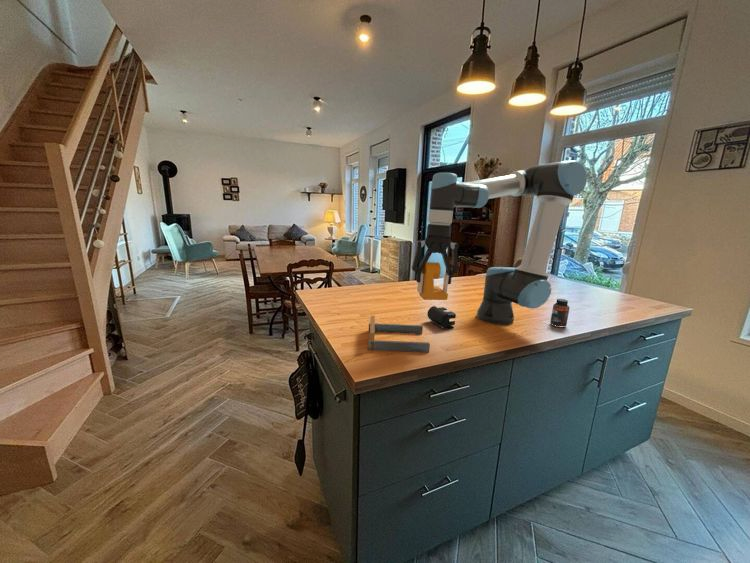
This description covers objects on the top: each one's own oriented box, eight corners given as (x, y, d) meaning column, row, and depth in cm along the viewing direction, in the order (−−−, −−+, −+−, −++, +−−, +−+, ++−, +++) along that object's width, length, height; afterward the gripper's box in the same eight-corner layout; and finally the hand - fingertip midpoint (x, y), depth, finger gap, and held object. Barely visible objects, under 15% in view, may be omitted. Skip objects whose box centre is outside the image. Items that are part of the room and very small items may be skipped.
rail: (421, 332, 114) (422, 317, 112) (429, 352, 98) (430, 335, 97) (368, 330, 113) (369, 315, 112) (367, 349, 98) (368, 332, 96)
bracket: (447, 302, 98) (452, 265, 95) (426, 302, 97) (430, 265, 94) (436, 293, 108) (440, 260, 105) (417, 293, 107) (420, 259, 104)
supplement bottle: (566, 325, 129) (571, 299, 126) (565, 329, 124) (571, 303, 121) (550, 321, 132) (555, 297, 129) (549, 325, 127) (553, 300, 124)
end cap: (426, 321, 126) (427, 306, 124) (440, 320, 128) (442, 305, 127) (440, 330, 117) (441, 314, 115) (455, 328, 119) (457, 312, 118)
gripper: (467, 225, 101) (459, 291, 106) (406, 221, 100) (400, 288, 105) (475, 226, 93) (465, 297, 99) (409, 222, 93) (403, 293, 98)
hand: (432, 292), depth 102 cm, fingers closed on bracket, 8 cm apart
